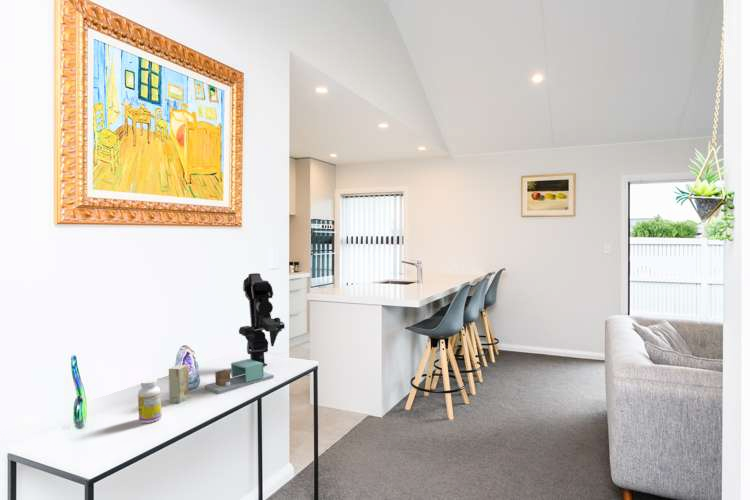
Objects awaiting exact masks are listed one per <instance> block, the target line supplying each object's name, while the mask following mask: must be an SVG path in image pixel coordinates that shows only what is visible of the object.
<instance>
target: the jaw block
mask: <svg viewBox="0 0 750 500" xmlns="http://www.w3.org/2000/svg"><path fill="white" fill-rule="evenodd" d="M214 374H215V376H214V377H215V382H216V385H218V386H221V387H222V386H225V382H230V378H231V371H230V370H227V369H222V370H218V371H215V372H214Z"/></svg>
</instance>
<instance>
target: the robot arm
mask: <svg viewBox="0 0 750 500" xmlns="http://www.w3.org/2000/svg"><path fill="white" fill-rule="evenodd" d="M242 286H243V287H242V290H243V292H244V296H245V298H246V299H247V300H248V302H249V303H248V304H249V305H248V306H249V315H250V316H249V317H250V326H249V325H244V326H240V327H239V329H238V334H239V335H241V336H243V337H245V340H246V341H247V342H246V343H247V344H246V353H247V355H250V358H249V359H250V360H254V361H258V362H261V363H263V367H265V366H267V365H268V363H265V353H268V351H269V349H268V348H269V341H270V346H271V347H274V345H275V342H276V340H277V337H278V335H279V333H280V332H282V331H283V329H286V327H285V323H284V322H283V321H281V318H280V317H274V318H272V312H273V309H274V307H273V303H272V302H271V301H270V299H273V296H274V291H273V286H272V285H271V283H270V282H269V280H263V278H262V277H261V273H258V272H257V273H255V272H254V273H249V274H248V277H246V278H245V279H243V284H242ZM264 331H265V332H266V333H267V332H269V339H270V340H269V341H268V339H267V338H266V333H265V332H264Z"/></svg>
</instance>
